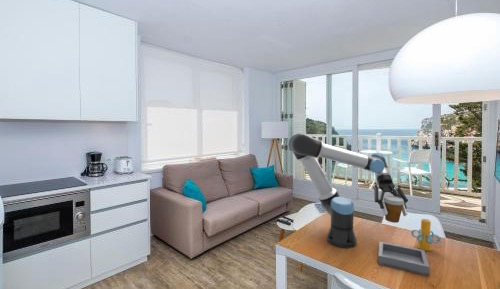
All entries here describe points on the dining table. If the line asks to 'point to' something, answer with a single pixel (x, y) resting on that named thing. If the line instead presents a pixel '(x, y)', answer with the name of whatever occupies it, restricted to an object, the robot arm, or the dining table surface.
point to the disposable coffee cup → (393, 208)
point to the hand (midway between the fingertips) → (395, 214)
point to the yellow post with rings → (425, 236)
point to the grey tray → (403, 258)
